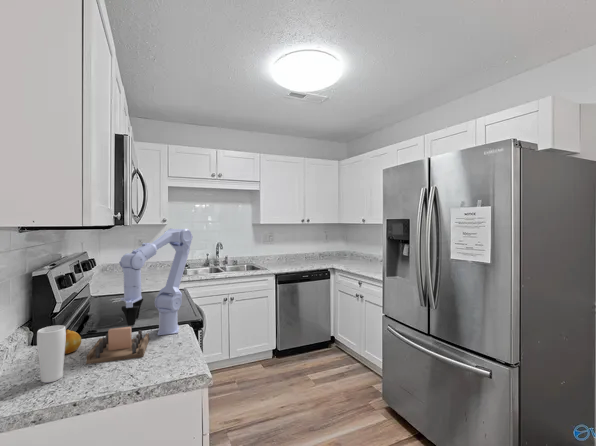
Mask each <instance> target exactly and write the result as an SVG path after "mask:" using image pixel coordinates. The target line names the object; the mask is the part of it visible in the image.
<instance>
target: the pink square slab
mask: <svg viewBox="0 0 596 446" xmlns="http://www.w3.org/2000/svg"><path fill="white" fill-rule="evenodd" d="M107 334H108V347H109V350H115V349H124V348H131V346H132V339H133V338H132V326H125V327H115V328H109V329H108V332H107Z"/></svg>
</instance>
